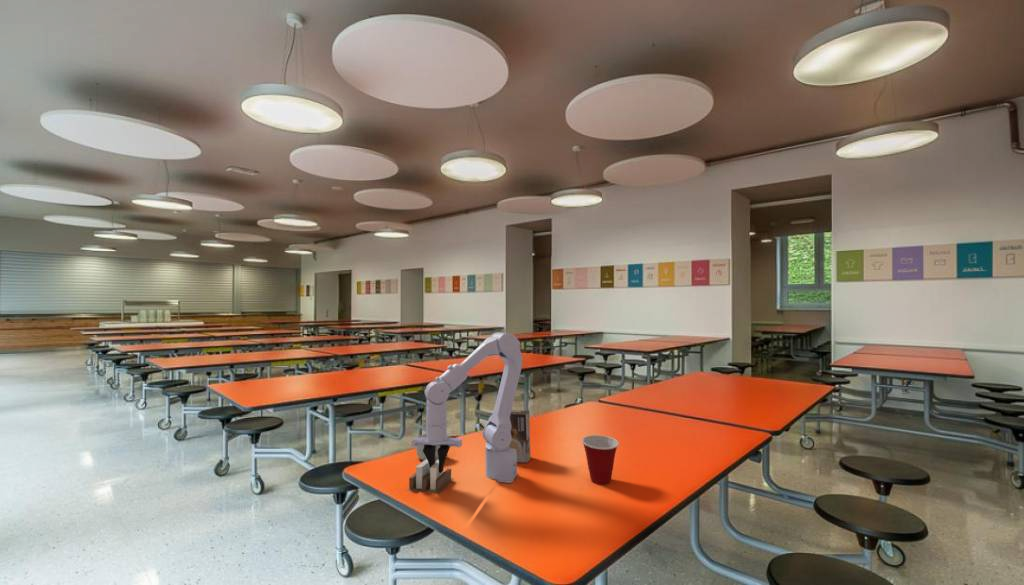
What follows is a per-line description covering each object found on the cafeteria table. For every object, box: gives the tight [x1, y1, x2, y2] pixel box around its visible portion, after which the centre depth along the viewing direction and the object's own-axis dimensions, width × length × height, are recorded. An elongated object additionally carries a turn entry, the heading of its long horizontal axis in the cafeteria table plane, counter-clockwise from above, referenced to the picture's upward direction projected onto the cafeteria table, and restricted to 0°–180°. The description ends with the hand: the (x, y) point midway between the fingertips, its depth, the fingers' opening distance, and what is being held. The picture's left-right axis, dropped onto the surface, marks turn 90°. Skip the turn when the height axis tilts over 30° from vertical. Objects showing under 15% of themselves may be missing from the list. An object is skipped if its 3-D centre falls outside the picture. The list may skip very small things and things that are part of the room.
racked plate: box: [415, 459, 430, 489], centre depth 125 cm, size 2×7×6 cm, turn 166°
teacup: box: [415, 433, 440, 461], centre depth 150 cm, size 14×11×8 cm
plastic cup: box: [581, 434, 620, 485], centre depth 127 cm, size 11×11×12 cm
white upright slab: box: [430, 460, 445, 490], centre depth 124 cm, size 2×7×6 cm, turn 173°
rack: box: [405, 468, 454, 494], centre depth 125 cm, size 10×11×4 cm
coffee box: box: [509, 409, 532, 464], centre depth 148 cm, size 9×6×16 cm
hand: (437, 471), depth 124 cm, fingers closed on white upright slab, 2 cm apart
